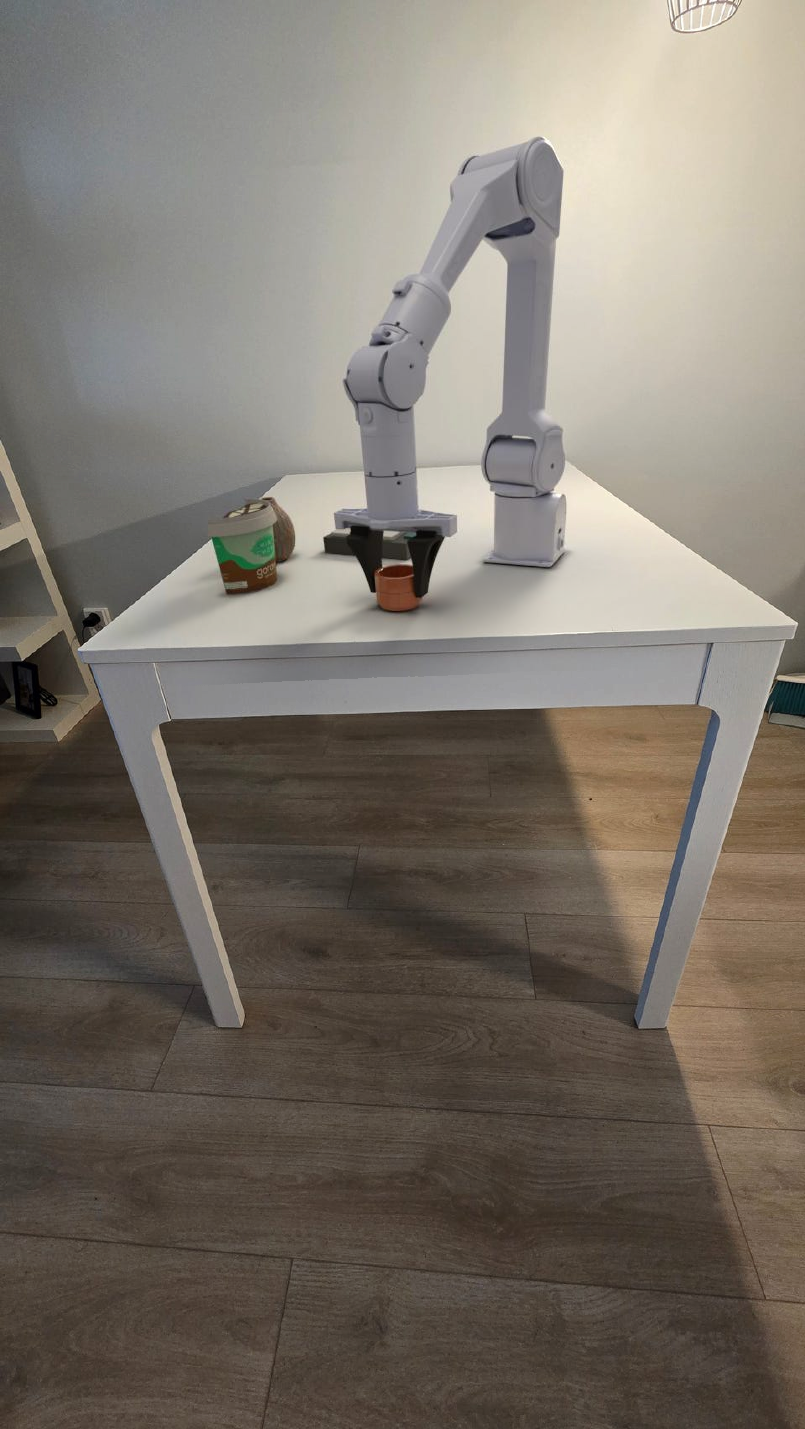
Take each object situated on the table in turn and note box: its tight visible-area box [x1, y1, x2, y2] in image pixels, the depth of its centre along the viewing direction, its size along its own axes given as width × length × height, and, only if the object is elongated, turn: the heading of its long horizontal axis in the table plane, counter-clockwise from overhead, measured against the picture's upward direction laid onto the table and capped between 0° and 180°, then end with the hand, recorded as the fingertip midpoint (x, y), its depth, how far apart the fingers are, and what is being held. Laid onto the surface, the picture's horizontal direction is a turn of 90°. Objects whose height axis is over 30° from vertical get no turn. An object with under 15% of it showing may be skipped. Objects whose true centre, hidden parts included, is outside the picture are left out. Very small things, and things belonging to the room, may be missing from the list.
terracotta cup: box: [374, 563, 423, 612], centre depth 76 cm, size 5×6×4 cm
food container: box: [206, 497, 278, 595], centre depth 85 cm, size 12×6×10 cm, turn 168°
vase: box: [259, 496, 296, 563], centre depth 95 cm, size 7×7×9 cm
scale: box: [322, 528, 416, 561], centre depth 99 cm, size 14×11×3 cm
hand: (398, 592), depth 76 cm, fingers closed on terracotta cup, 5 cm apart
